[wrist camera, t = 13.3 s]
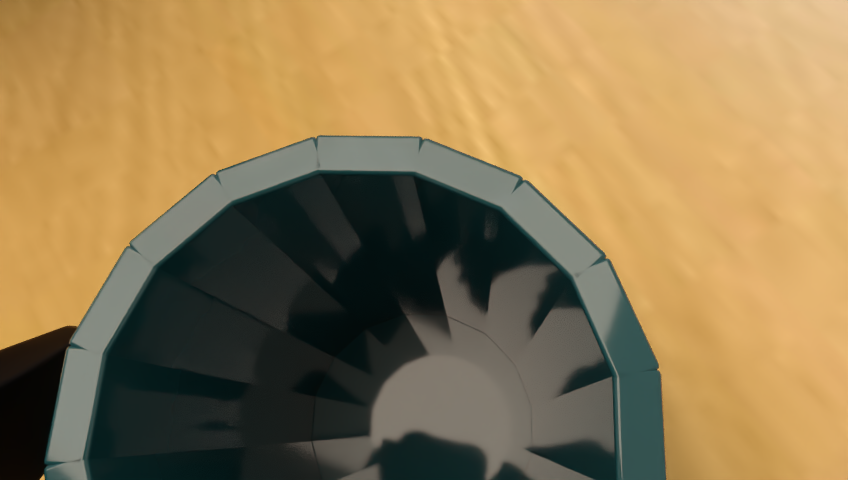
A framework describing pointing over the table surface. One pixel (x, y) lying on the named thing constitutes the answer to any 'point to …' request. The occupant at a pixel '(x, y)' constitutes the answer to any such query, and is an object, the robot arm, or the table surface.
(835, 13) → the table surface
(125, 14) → the table surface
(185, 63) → the table surface
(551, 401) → the teal cup
